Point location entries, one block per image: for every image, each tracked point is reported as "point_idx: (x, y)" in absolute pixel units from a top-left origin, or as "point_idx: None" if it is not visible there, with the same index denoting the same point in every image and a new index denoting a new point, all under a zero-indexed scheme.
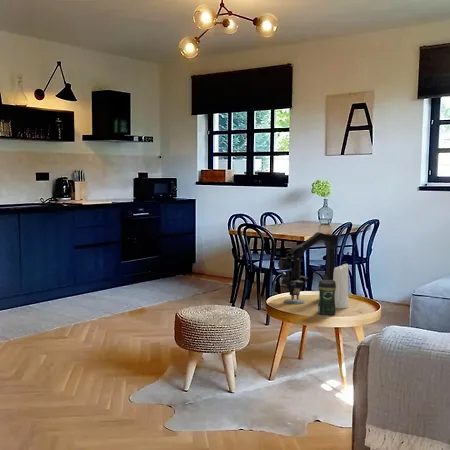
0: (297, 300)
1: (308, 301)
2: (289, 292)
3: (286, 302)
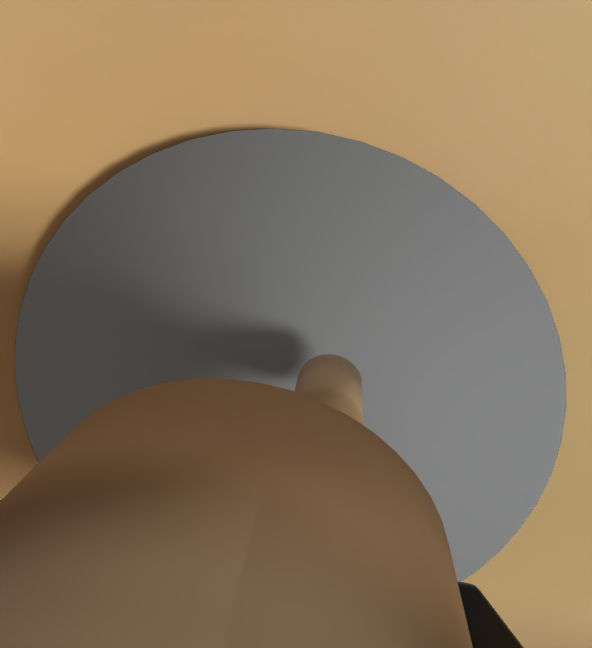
0: (401, 451)
1: (535, 631)
2: (58, 452)
3: (23, 321)
